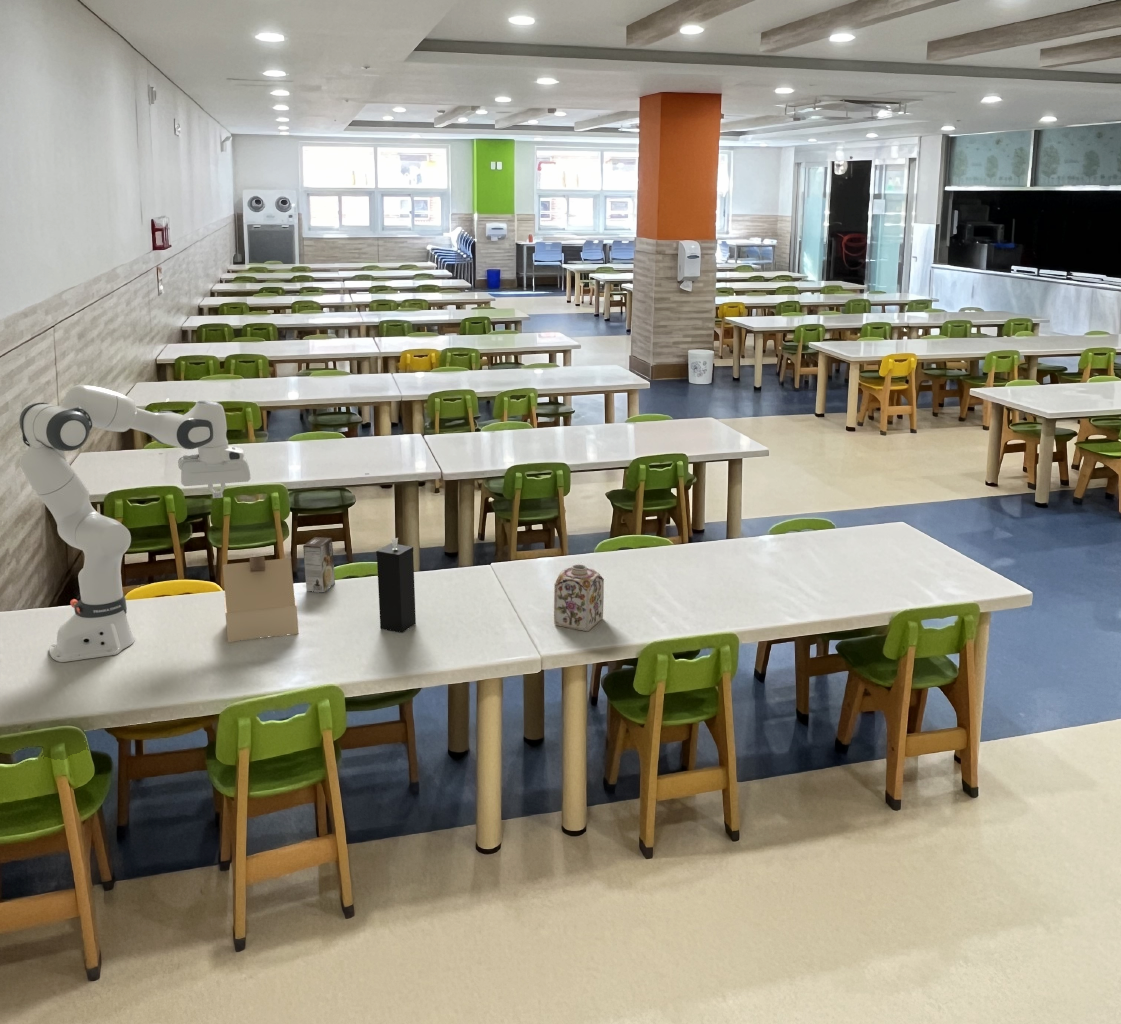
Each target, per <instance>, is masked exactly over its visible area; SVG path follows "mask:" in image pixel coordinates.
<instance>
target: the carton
mask: <svg viewBox="0 0 1121 1024" xmlns="http://www.w3.org/2000/svg"><path fill="white" fill-rule="evenodd" d="M295 596H296V595H294V597H295ZM223 597H224V598H223V600H224V613H225V614H224V615H225V621H226V622H225V624H226V633H227V642H228V643H231V642H240V640H241V641H248V640H247V639H249V640H253V639H252V638H258V639H261V638H260V637H267V638H269V637H268V636H275V637H281V636H280V635H284V636H288V635H287V634H292V635H299V621H298V620H299V619H298V605H297V602H296V600H295V606H287V607H278V608H269V609H259V610H250V611H241V612H232V613H227V610H226V599H225V595H224V596H223ZM295 598H296V597H295Z"/></svg>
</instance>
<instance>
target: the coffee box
mask: <svg viewBox="0 0 1121 1024" xmlns="http://www.w3.org/2000/svg"><path fill="white" fill-rule="evenodd" d="M302 546H303V559H304V562H303V563H304V572H305V573H304V574H305V584H306V585H305V587H306V592H307V591H312V592H311V593H319V592H324V593H326V592H325V591H326V590H327V589H328V588H329V587H330V588H331V587H332V586H334V585H335V583H336V581H335V579H336V577H335V566H334V565H335V564H334V563H335V562H334V550H333V549H334V547H333V538H332V537H317V536H315V537H313V538H311V539H310V540H308V541H307V542H305V544H303V545H302ZM331 585H332V586H331ZM330 588H329V589H330ZM329 589H328V590H329ZM328 590H327V591H328ZM313 591H314V592H313Z"/></svg>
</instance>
